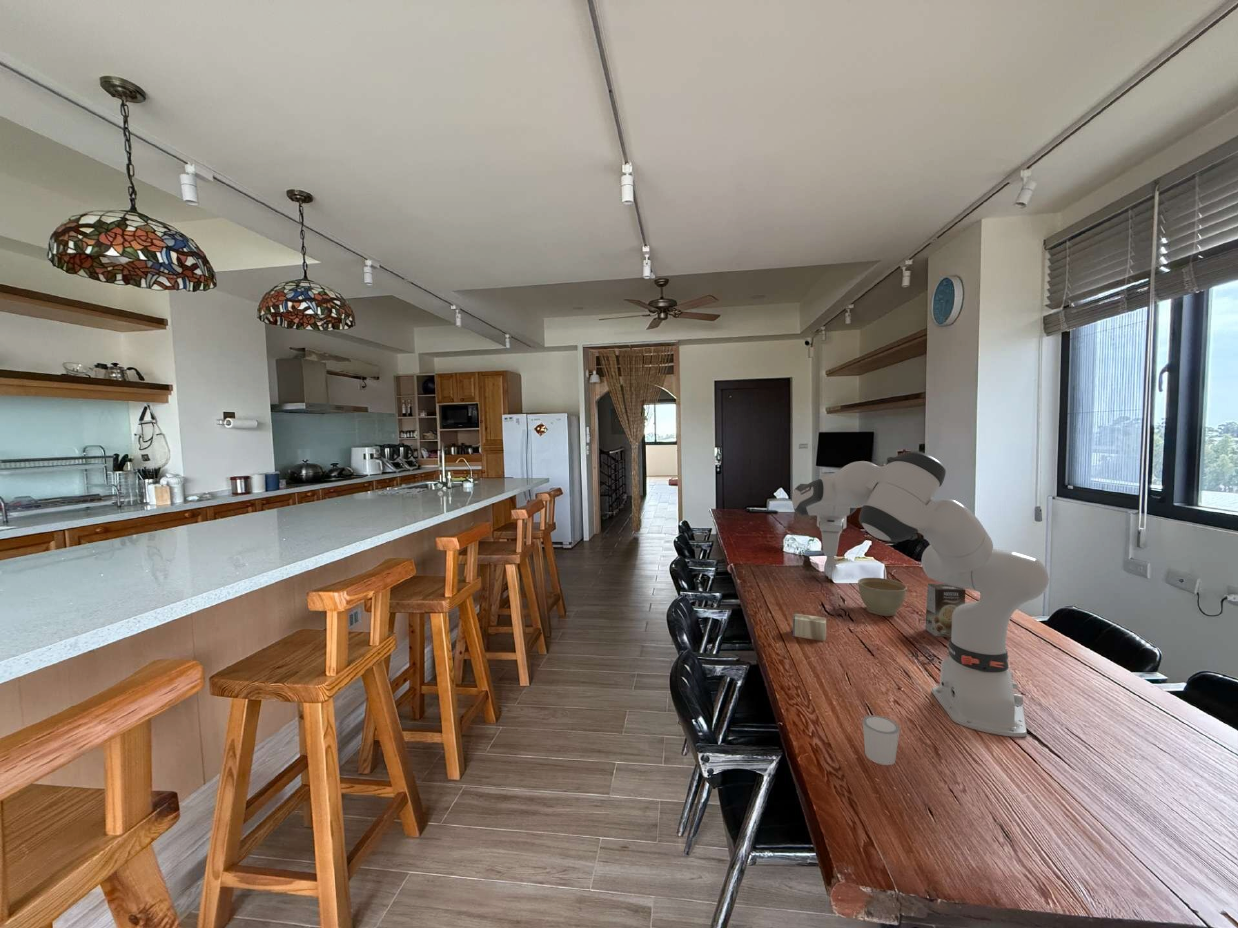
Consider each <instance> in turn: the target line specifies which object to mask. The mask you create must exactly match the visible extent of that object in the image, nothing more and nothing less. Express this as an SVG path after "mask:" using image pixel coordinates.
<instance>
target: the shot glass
mask: <svg viewBox="0 0 1238 928" xmlns="http://www.w3.org/2000/svg"><path fill="white" fill-rule="evenodd" d="M862 730H863V743H864V744H863V745H864V755H865V756H866V757H867V759H868V760H870V761H871V762H874V763H875V764H878V765H882V766H891V765H894V764H895V763H896V761H897V760H896V759H897V752H898V751H897V750H898V743H899V738H900V737H899V735H900V726H899V724H898V723H896V722H895V721H893V720H892V719H889V718H887V717H884V716H882V715H877V714H876V715H866V716H864V717H863V718H862Z"/></svg>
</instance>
